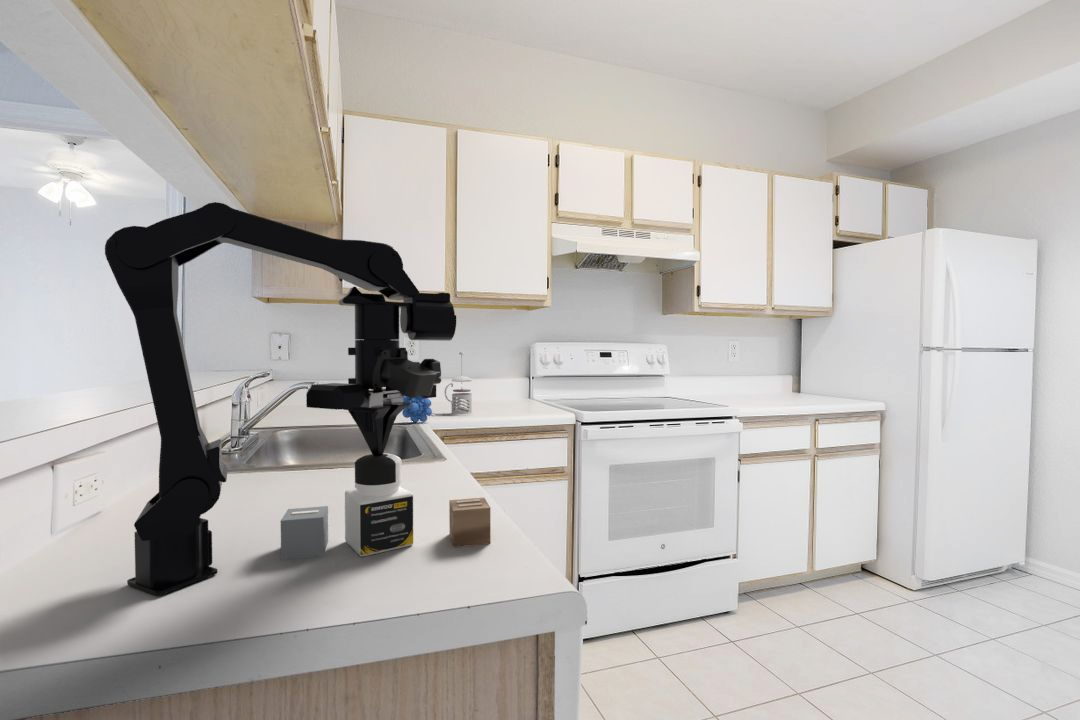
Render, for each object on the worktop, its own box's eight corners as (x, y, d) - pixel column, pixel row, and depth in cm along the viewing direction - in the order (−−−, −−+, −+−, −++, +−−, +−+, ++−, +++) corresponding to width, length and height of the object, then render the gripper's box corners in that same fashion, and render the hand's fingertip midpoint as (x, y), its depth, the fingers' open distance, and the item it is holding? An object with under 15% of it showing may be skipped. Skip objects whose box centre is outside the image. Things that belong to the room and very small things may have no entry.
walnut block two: (490, 544, 72) (490, 506, 72) (453, 547, 70) (453, 509, 70) (484, 531, 76) (484, 496, 76) (449, 534, 75) (449, 499, 75)
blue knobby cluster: (396, 424, 181) (396, 390, 181) (399, 422, 188) (399, 388, 188) (430, 424, 182) (430, 389, 182) (433, 421, 189) (432, 388, 189)
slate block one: (323, 555, 68) (323, 516, 67) (281, 560, 66) (280, 519, 66) (328, 542, 72) (327, 504, 72) (288, 545, 71) (288, 507, 71)
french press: (472, 416, 204) (472, 351, 204) (442, 416, 204) (442, 351, 204) (476, 412, 214) (475, 351, 213) (447, 412, 214) (447, 351, 214)
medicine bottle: (360, 558, 67) (359, 463, 66) (344, 541, 72) (343, 454, 72) (414, 545, 71) (413, 457, 70) (394, 530, 77) (394, 448, 76)
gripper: (372, 338, 59) (372, 477, 59) (466, 340, 76) (466, 449, 76) (302, 339, 64) (303, 467, 64) (405, 341, 81) (406, 442, 81)
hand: (377, 455), depth 71 cm, fingers closed
